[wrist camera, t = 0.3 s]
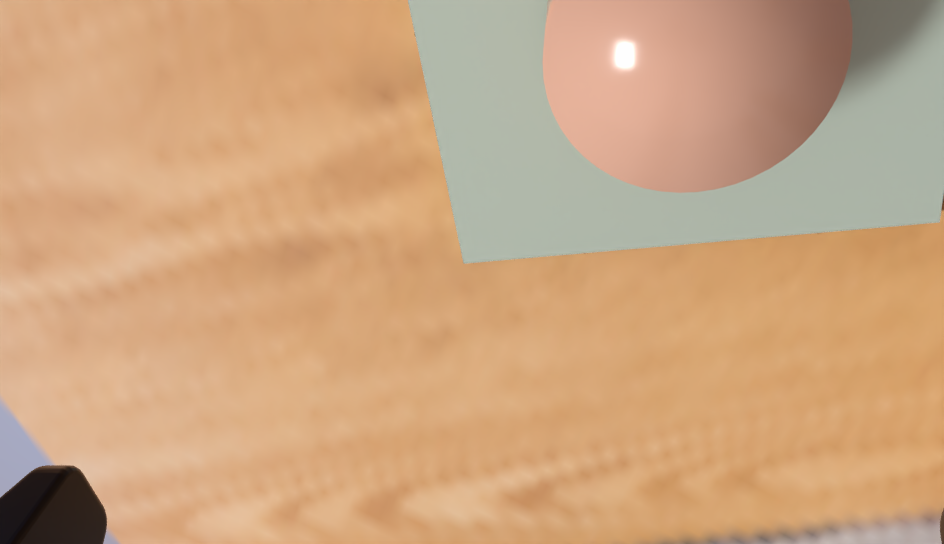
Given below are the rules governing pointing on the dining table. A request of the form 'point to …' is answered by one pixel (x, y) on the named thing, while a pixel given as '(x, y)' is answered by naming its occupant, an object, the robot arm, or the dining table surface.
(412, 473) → the dining table surface
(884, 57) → the mat
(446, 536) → the dining table surface
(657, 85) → the pink dome
